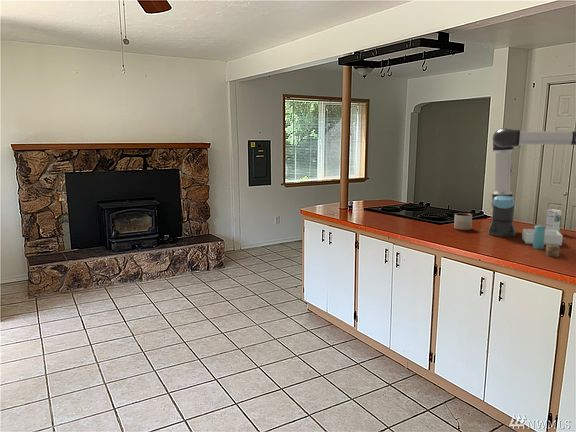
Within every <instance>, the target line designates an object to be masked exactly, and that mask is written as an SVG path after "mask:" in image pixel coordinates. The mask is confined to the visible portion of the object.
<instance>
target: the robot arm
mask: <svg viewBox="0 0 576 432" xmlns="http://www.w3.org/2000/svg"><path fill="white" fill-rule="evenodd" d="M522 145H529V146H530V145H533V146H534V145H535V146H536V145H542V146H543V145H544V146H545V145H547V146H548V145H553V146H554V145H565V146H567V145H568V146H571V145H572V146H576V131H571V130H570V131H569V130H568V131H566V130H564V131H559V130H558V131H556V130H555V131H554V130H553V131H551V130H549V131H545V130H544V131H538V130H537V131H533V130H532V131H528V130H527V131H523V130H522V129H513V128H512V129H511V128H506V127H504V128H503V127H502V128H499V129H497V130H496V131H495V132H494V133H493V134H492V151H493V153H494V154H495V165H494V166H495V171H494V172H495V173H494V191H493V192H492V193H491V197H492V198H491V200H492V201H491V209H492V215H491V223H490V225H489V228H488V230H487V234H488V235H490V236H494V237H501V238H503V237H504V238H511V237H515V236H516V228H515V226H514V212H515V203H516V201H515V198H514V197H513V192H512V191H511V160H512V159H511V157H512V155H511V153H512V152H513V151H514V147H520V146H522Z"/></svg>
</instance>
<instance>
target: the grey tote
mask: <svg viewBox="0 0 576 432" xmlns="http://www.w3.org/2000/svg"><path fill="white" fill-rule="evenodd" d="M563 237H564V236H563V234H561V232H560V233H559V232H558V231H557V230H546V229H545V236H544V246H546V244H550V245H558V246H559V247H560V246H561V247H562V246H563ZM521 239H522V241H523V242H524V243H525V244H526V245H527V244H528V245H533V239H534V229H533V228H522V235H521Z"/></svg>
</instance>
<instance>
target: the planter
mask: <svg viewBox="0 0 576 432" xmlns="http://www.w3.org/2000/svg"><path fill="white" fill-rule="evenodd" d="M453 225H454V226H453V228H454V229H456V230H458V231H470V230H472V227H473V214H472V213H465V212H464V213H462V212H458V213H455V214H454V223H453Z"/></svg>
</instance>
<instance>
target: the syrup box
mask: <svg viewBox="0 0 576 432" xmlns="http://www.w3.org/2000/svg"><path fill="white" fill-rule="evenodd" d="M562 213H563V211H562V210H561V209H547V210H546V219H545V230H557V231H558V232H559V233H560V234H561V227H562V215H563V214H562Z"/></svg>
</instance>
